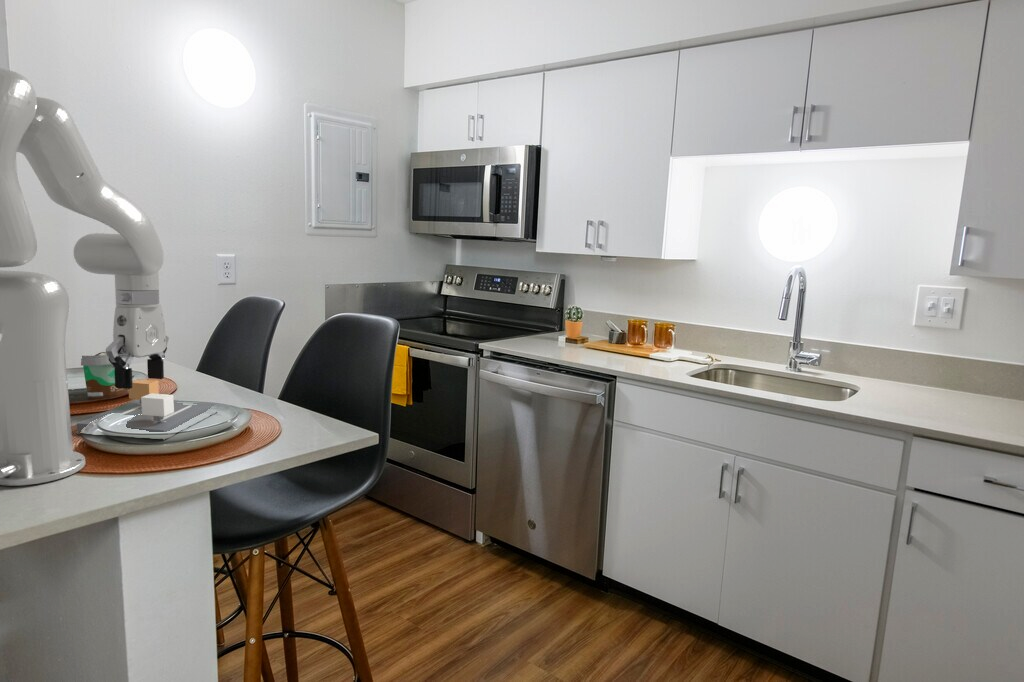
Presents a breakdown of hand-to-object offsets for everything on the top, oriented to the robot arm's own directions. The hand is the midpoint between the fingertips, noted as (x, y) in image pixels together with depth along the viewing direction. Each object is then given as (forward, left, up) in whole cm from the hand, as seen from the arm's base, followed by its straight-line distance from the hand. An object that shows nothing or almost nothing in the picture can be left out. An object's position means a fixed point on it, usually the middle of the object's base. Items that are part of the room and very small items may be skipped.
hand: (140, 383), depth 130 cm
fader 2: (-8, -9, -5) cm, 13 cm away
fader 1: (+1, 0, -5) cm, 5 cm away
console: (-3, -4, -7) cm, 9 cm away
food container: (+13, +15, -7) cm, 21 cm away
